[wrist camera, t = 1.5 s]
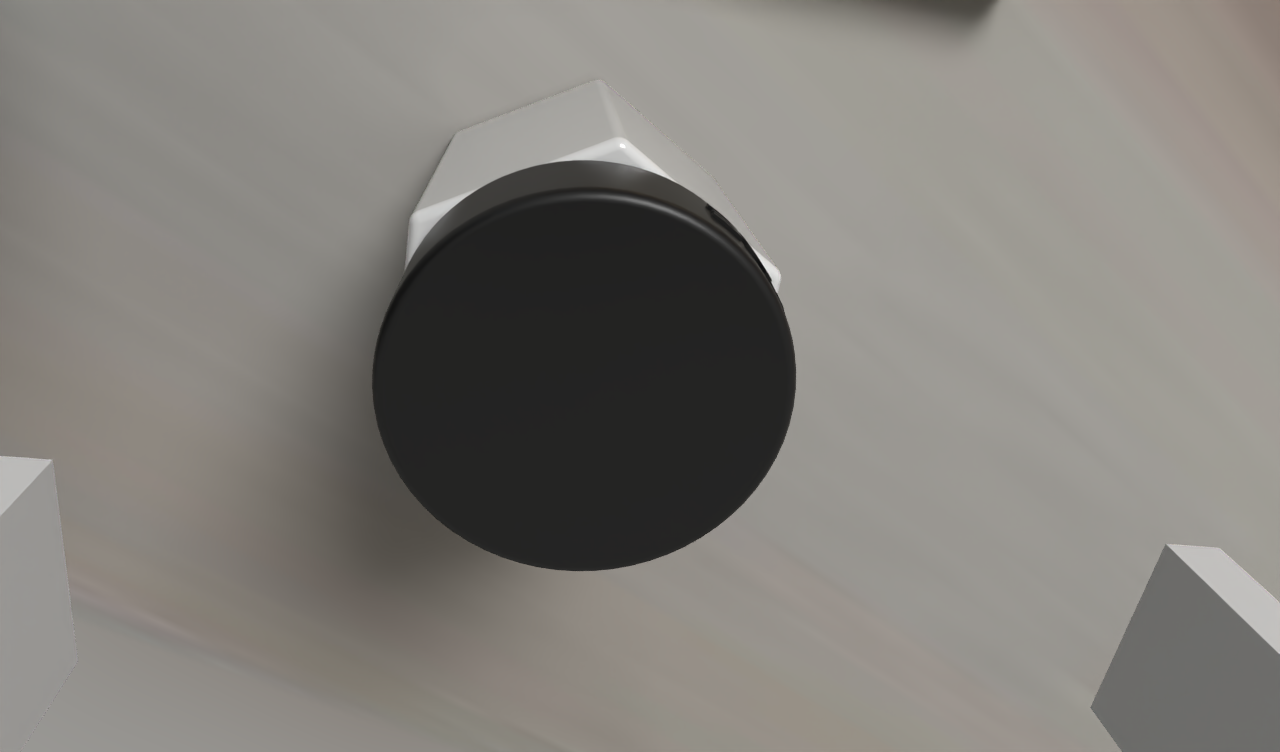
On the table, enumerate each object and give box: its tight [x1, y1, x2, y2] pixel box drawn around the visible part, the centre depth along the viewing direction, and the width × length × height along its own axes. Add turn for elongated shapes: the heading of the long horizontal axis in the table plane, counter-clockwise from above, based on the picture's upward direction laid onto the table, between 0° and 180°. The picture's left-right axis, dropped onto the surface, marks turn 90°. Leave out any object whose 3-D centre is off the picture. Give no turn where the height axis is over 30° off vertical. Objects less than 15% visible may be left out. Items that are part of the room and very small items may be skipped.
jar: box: [372, 80, 796, 571], centre depth 23 cm, size 9×8×12 cm
